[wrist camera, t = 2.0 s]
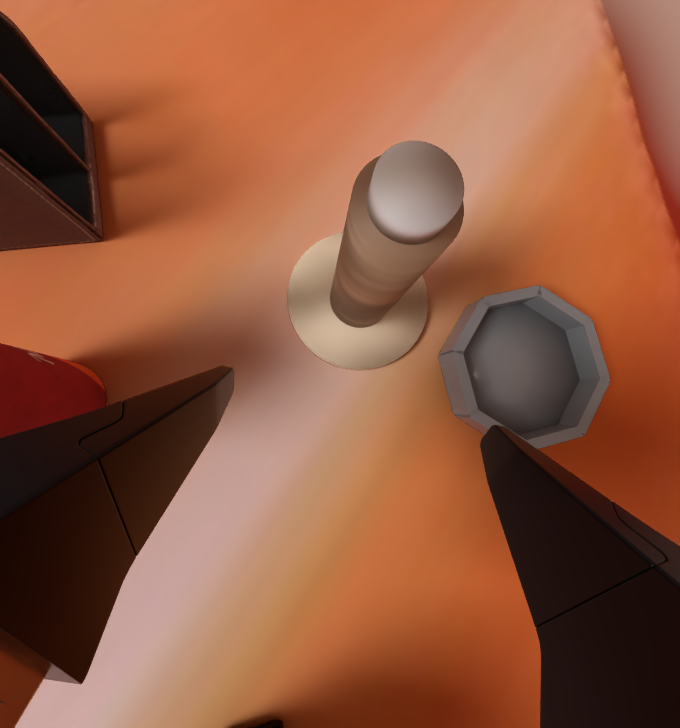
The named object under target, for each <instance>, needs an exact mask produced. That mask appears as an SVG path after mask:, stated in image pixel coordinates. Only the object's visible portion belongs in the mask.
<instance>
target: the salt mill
mask: <svg viewBox="0 0 680 728" xmlns="http://www.w3.org/2000/svg"><path fill="white" fill-rule="evenodd" d="M463 196H464V182H463V177H462V174H461V172H460V170H459V168H458V166H457V164H456V163H455V161H454V160H453V159H452V158H451V157H450V156H449V155H448V154H447V153H446V152H445V151H443V150H442V149H440V148H439V147H437V146H435V145H432V144H430V143H426V142H422V141H406V142H401V143H398V144H396V145H394V146H392V147H390V148H389V149H388V150H386V151H385V152H384V153H383V154H382V155H381V156H379V157H377V158H375V159H373V160H372V161H370V162H369V163H368V164H367V165H366V166H365V167H364V168H363V169H362V170H361V172H360V173H359V175H358V177H357V178H356V181H355V183H354V186H353V190H352V194H351V199H350V204H349V208H348V213H347V218H346V222H345V227H344V231H343V236H342V241H341V245H340V250H339V255H338V259H337V264H336V268H335V273H334V278H333V282H332V287H331V292H330V304H331V308H332V310H333V312H334V314H335V315H336V316H337V318H338V319H339V320H340V321H342V322H343V323H345V324H346V325H349V326H351V327H355V328H365V327H369V326H372V325H374V324H376V323H377V322H379V321H380V320H381V319H382V318H383V317H384V316H385V314H386V313H387V312H388V311H389V310H390V309H391V308H392V307H393V306H394V305H395V304H396V303H397V301H398V300H399V299H400V298H401V297H402V296H403V295H404V294H405V293H406V292H407V291H408V290H409V288H410V287H411V286H412V285H413V284H414V283H415V282H416V281H417V280H418V279H419V278H420V276H421V275H422V274H423V273H424V272H425V271H426V270H427V269H428V268H429V267H430V266H431V265H432V263H433V262H434V261H435V260H436V259H437V258H438V257H439V256H440V255H441V254H442V253H443V252H444V250H445V249H446V248H447V247H448V246H449V245H450V244H451V243H452V242H453V241H454V239H455V238H456V236H457V235H458V233H459V231H460V228H461V225H462V222H463V216H464V205H463Z"/></svg>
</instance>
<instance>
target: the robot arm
mask: <svg viewBox="0 0 680 728" xmlns="http://www.w3.org/2000/svg"><path fill="white" fill-rule="evenodd" d="M233 390H234V369H233V368H231V367H226V366H219V367H216V368H213V369H211V370H208V371H205V372H202V373H199V374H197V375H194V376H191V377H188V378H185V379H183V380H180V381H177V382H174V383H171V384H168V385H166V386H163V387H160V388H157V389H154V390H152V391H149V392H146V393H143V394H140V395H137V396H135V397H132V398H129V399H126V400H124V401H119V402H117V403H114V404H111V405H108V406H105V407H102V408H99V409H96V410H93V411H90V412H87V413H84V414H81V415H77V416H74V417H71V418H67V419H64V420H60V421H57V422H54V423H50V424H47V425H43V426H40V427H36V428H33V429H29V430H26V431H22V432H19V433H15V434H12V435H8V436H5V437H1V438H0V728H15V726H16V724H17V723H18V721H19V719H20V718H21V716H22V714H23V713H24V711H25V709H26V708H27V706H28V704H29V703H30V701H31V699H32V698H33V696H34V694H35V693H36V691H37V689H38V688H39V686H40V684H41V683H42V681H43V679H48V680H55V681H62V682H68V683H75V684H82V683H83V681H84V679H85V677H86V675H87V673H88V671H89V668H90V666H91V663H92V661H93V658H94V655H95V653H96V650H97V648H98V645H99V642H100V640H101V637H102V635H103V632H104V630H105V627H106V624H107V622H108V619H109V617H110V614H111V611H112V609H113V606H114V604H115V601H116V599H117V596H118V593H119V591H120V588H121V586H122V583H123V581H124V579H125V577H126V575H127V573H128V571H129V569H130V567H131V565H132V563H133V562H134V560H135V558H136V556H137V555H138V554H139V552H140V550H141V549H142V547H143V546H144V544H145V542H146V541H147V539H148V538H149V536H150V534H151V533H152V531H153V530H154V528H155V526H156V525H157V523H158V522H159V520H160V518H161V517H162V515H163V514H164V512H165V510H166V509H167V507H168V506H169V504H170V502H171V501H172V499H173V498H174V496H175V494H176V493H177V491H178V490H179V488H180V486H181V485H182V483H183V482H184V480H185V478H186V477H187V475H188V474H189V472H190V470H191V469H192V467H193V466H194V464H195V462H196V461H197V459H198V458H199V456H200V454H201V453H202V451H203V450H204V448H205V446H206V445H207V443H208V442H209V440H210V438H211V437H212V435H213V434H214V432H215V430H216V428H217V427H218V425H219V422H220V420H221V418H222V416H223V414H224V411H225V409H226V407H227V405H228V402H229V400H230V398H231V396H232V393H233ZM480 448H481V453H482V458H483V462H484V467H485V472H486V477H487V481H488V485H489V488H490V491H491V494H492V497H493V500H494V503H495V506H496V509H497V512H498V515H499V518H500V521H501V524H502V527H503V530H504V534H505V537H506V540H507V543H508V546H509V549H510V552H511V555H512V558H513V561H514V564H515V567H516V570H517V573H518V576H519V579H520V582H521V585H522V588H523V591H524V594H525V597H526V600H527V603H528V606H529V609H530V612H531V615H532V618H533V621H534V624H535V627H537V628H536V631H537V634H538V638H539V642H540V649H541V700H540V728H680V546H678V545H677V544H675V543H674V542H672V541H671V540H669V539H668V538H666V537H664V536H663V535H661V534H660V533H658V532H657V531H655V530H654V529H652V528H651V527H649V526H648V525H646V524H645V523H643V522H642V521H640V520H639V519H638V518H636V517H635V516H633V515H632V514H630V513H629V512H627V511H626V510H624V509H623V508H622V507H620V506H619V505H617V504H616V503H614V502H611V501H610V500H609V499H608V498H607V497H605V496H604V495H602V494H601V493H599V492H598V491H596V490H595V489H594V488H592V487H591V486H589V485H588V484H586V483H585V482H584V481H582V480H581V479H579V478H578V477H576V476H575V475H574V474H572V473H571V472H569V471H568V470H566V469H565V468H564V467H562V466H561V465H559V464H558V463H556V462H555V461H554V460H552V459H551V458H549V457H548V456H546V455H545V454H544V453H542V452H541V451H539V450H538V449H536V448H535V447H533V446H532V445H531V444H529V443H528V442H526V441H525V440H523V439H522V438H521V437H519V436H518V435H516V434H515V433H513V432H512V431H511V430H509V429H508V428H506V427H504V426H500V425H492V426H491V427H490V428H489V430H488V431H487V433H486V434H485V435H484V437H483V438H482V440H481V443H480ZM254 728H284V725H283V722H281V721H280V720H274V721H271V722H268V723H265V724H263V725H260V726H257V727H254Z"/></svg>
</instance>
